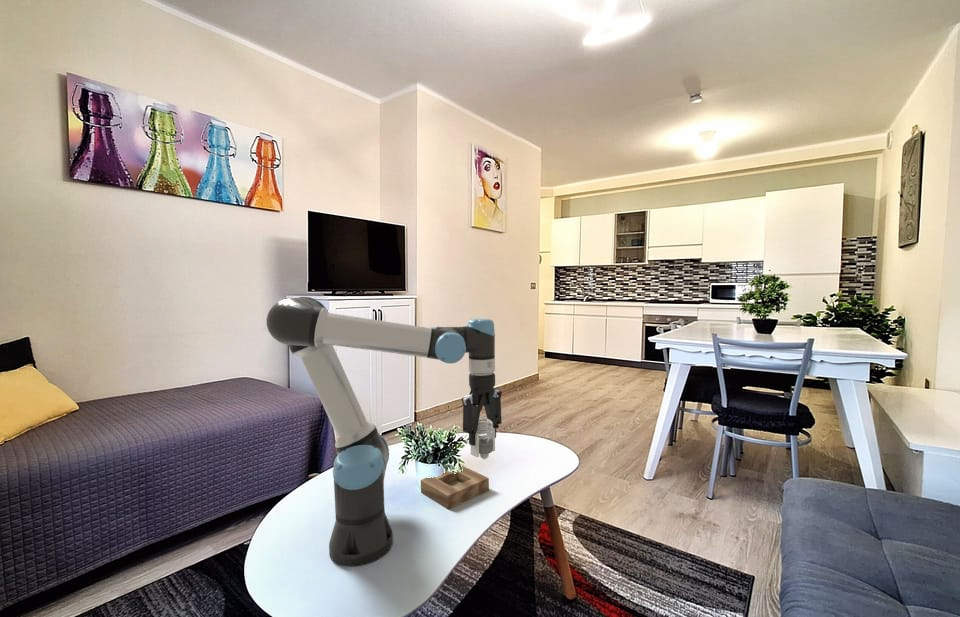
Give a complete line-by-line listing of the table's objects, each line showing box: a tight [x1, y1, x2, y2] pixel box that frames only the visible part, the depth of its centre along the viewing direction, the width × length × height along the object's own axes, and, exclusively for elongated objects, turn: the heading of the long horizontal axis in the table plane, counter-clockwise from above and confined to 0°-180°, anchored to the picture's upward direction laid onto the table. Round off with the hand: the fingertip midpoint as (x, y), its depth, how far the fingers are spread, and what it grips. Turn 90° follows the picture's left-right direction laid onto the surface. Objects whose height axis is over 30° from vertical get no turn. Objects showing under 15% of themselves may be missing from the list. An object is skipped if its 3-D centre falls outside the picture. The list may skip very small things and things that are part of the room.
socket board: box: [420, 465, 490, 510], centre depth 130 cm, size 16×14×4 cm
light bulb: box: [476, 417, 494, 460], centre depth 120 cm, size 6×6×12 cm
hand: (483, 452), depth 120 cm, fingers closed on light bulb, 6 cm apart
